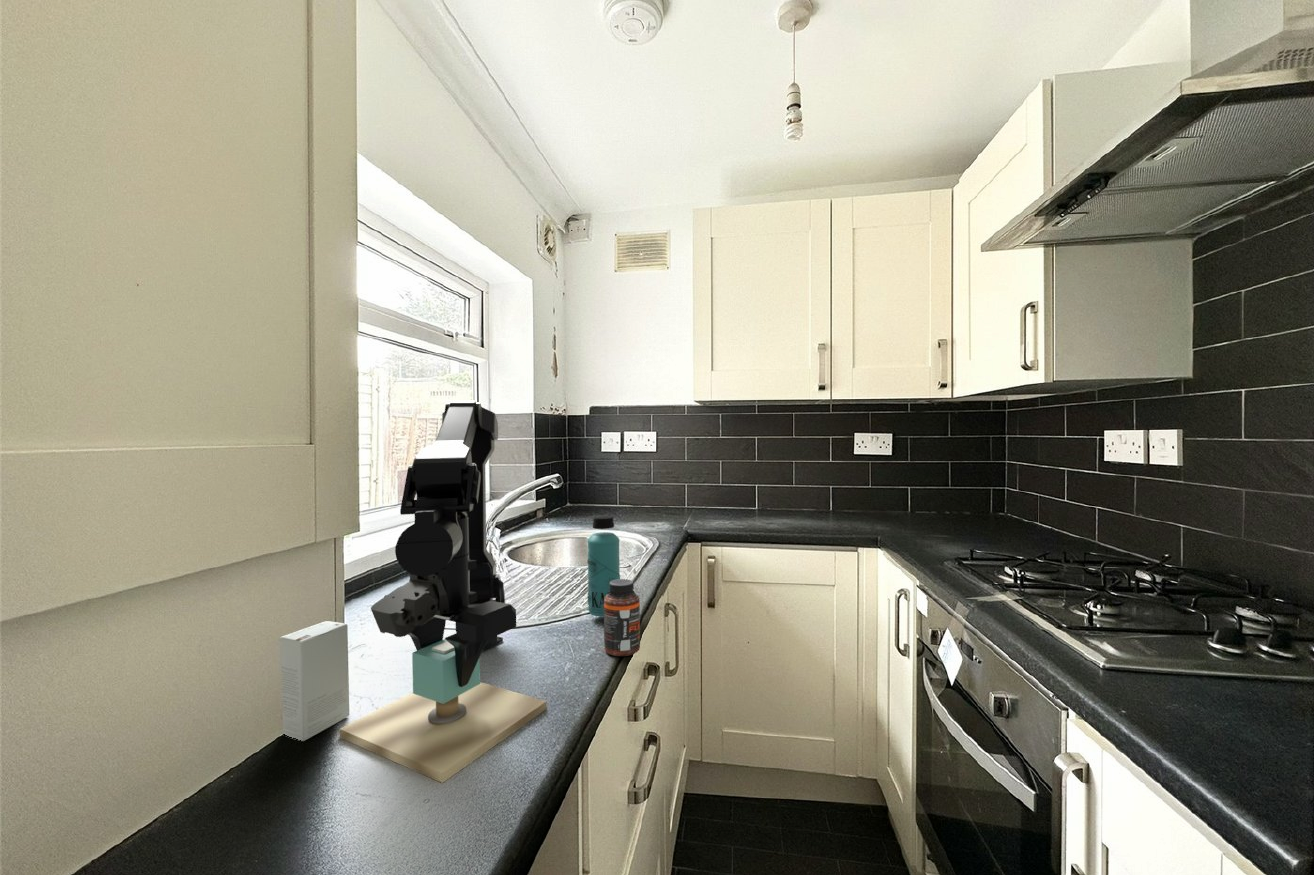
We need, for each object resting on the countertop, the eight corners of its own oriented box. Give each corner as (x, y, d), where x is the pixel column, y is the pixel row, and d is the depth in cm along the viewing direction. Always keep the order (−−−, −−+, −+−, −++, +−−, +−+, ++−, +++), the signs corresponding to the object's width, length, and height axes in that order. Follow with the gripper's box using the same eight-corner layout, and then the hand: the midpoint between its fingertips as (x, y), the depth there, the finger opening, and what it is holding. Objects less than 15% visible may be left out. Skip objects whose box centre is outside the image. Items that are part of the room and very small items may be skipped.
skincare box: (327, 711, 67) (326, 618, 67) (351, 717, 65) (350, 622, 65) (277, 737, 61) (276, 635, 61) (303, 744, 60) (301, 640, 60)
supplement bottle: (635, 659, 81) (634, 587, 81) (599, 657, 82) (598, 586, 82) (644, 644, 87) (642, 577, 87) (610, 642, 88) (609, 576, 88)
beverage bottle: (603, 611, 104) (601, 512, 104) (628, 617, 100) (626, 515, 100) (580, 620, 99) (578, 517, 99) (606, 627, 95) (604, 519, 95)
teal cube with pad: (413, 693, 63) (412, 650, 63) (450, 675, 67) (449, 634, 67) (443, 703, 60) (442, 658, 60) (480, 683, 65) (479, 642, 65)
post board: (339, 737, 61) (339, 699, 61) (451, 680, 75) (450, 649, 75) (442, 783, 52) (441, 738, 52) (546, 709, 66) (545, 674, 66)
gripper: (334, 562, 61) (337, 693, 61) (440, 580, 52) (443, 733, 52) (417, 544, 71) (419, 657, 71) (518, 557, 62) (520, 685, 62)
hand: (447, 680), depth 64 cm, fingers closed on teal cube with pad, 5 cm apart
